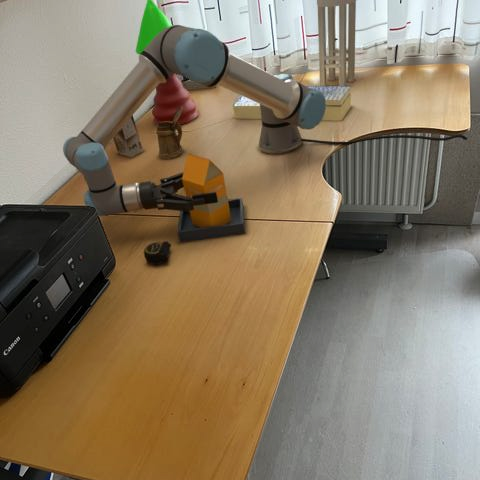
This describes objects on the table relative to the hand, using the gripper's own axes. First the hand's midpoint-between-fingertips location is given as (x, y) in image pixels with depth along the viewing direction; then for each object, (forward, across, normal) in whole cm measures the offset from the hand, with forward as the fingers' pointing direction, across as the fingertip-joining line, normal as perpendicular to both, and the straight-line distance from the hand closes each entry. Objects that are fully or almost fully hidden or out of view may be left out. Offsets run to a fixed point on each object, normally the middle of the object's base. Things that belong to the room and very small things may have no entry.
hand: (217, 185), depth 132 cm
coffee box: (-37, -62, -12) cm, 73 cm away
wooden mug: (-18, -54, -12) cm, 58 cm away
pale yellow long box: (+28, -78, -12) cm, 84 cm away
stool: (+51, -104, -12) cm, 116 cm away
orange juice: (-4, 0, -11) cm, 12 cm away
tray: (-3, 0, -12) cm, 12 cm away
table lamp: (-21, -92, -12) cm, 95 cm away
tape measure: (-17, +14, -12) cm, 25 cm away
